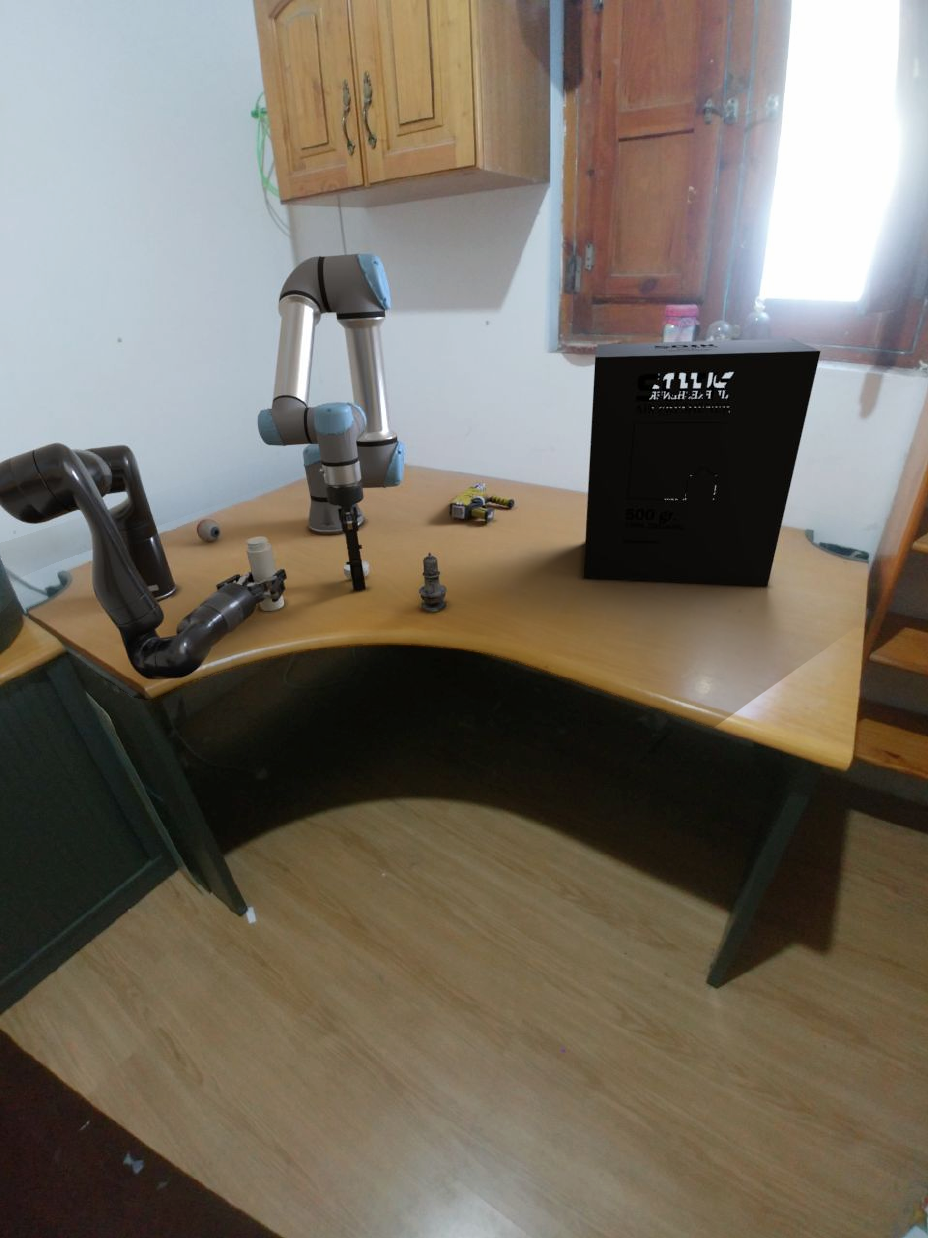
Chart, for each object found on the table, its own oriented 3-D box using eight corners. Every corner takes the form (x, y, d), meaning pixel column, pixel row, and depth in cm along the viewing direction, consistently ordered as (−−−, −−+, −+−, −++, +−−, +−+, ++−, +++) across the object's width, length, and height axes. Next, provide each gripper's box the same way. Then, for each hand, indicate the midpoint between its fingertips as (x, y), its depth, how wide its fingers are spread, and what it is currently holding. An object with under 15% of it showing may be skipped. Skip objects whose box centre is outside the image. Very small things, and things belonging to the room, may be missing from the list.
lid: (346, 580, 132) (345, 572, 131) (343, 570, 137) (341, 562, 136) (371, 575, 133) (370, 568, 132) (367, 566, 138) (366, 558, 137)
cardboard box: (748, 547, 142) (790, 338, 120) (767, 586, 125) (820, 350, 103) (586, 541, 150) (597, 344, 127) (583, 577, 133) (595, 357, 110)
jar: (275, 598, 132) (259, 533, 125) (288, 604, 130) (274, 538, 122) (256, 607, 129) (239, 541, 122) (269, 613, 126) (253, 546, 119)
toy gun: (522, 487, 180) (475, 480, 184) (500, 511, 160) (447, 502, 164) (521, 502, 182) (474, 495, 186) (499, 527, 162) (447, 519, 166)
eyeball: (210, 546, 160) (204, 525, 157) (195, 542, 163) (189, 521, 160) (228, 538, 164) (223, 518, 161) (213, 535, 167) (208, 514, 164)
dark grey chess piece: (444, 613, 122) (440, 559, 116) (416, 611, 123) (411, 558, 117) (450, 599, 127) (447, 547, 121) (424, 598, 128) (419, 546, 122)
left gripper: (253, 596, 111) (299, 558, 125) (187, 590, 114) (239, 553, 128) (262, 631, 114) (305, 590, 128) (198, 624, 118) (247, 585, 132)
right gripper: (324, 472, 132) (340, 569, 143) (325, 498, 116) (343, 604, 128) (358, 469, 133) (371, 564, 145) (364, 493, 117) (379, 598, 129)
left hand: (272, 572), depth 128 cm, fingers closed on jar, 5 cm apart
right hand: (358, 583), depth 136 cm, fingers closed on lid, 5 cm apart
